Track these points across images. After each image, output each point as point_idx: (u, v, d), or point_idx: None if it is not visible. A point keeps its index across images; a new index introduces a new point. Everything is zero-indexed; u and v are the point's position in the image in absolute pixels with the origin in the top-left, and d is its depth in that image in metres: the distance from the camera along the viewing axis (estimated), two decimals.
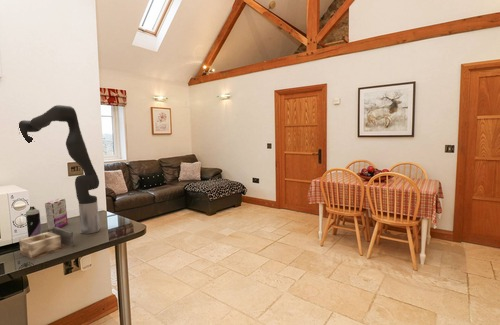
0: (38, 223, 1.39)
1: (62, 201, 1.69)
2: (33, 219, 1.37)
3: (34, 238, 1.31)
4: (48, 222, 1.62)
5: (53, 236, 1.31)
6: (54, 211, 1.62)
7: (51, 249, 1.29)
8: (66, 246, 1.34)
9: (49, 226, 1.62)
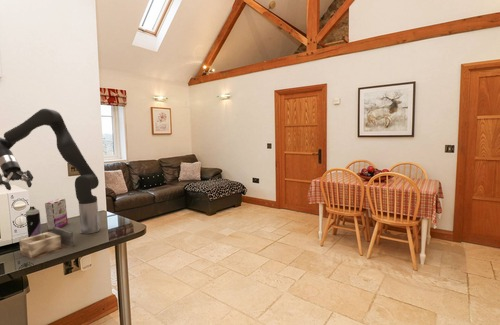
0: (38, 223, 1.39)
1: (62, 201, 1.69)
2: (33, 219, 1.37)
3: (34, 238, 1.31)
4: (48, 222, 1.62)
5: (53, 236, 1.31)
6: (54, 211, 1.62)
7: (51, 249, 1.29)
8: (66, 246, 1.34)
9: (49, 226, 1.62)
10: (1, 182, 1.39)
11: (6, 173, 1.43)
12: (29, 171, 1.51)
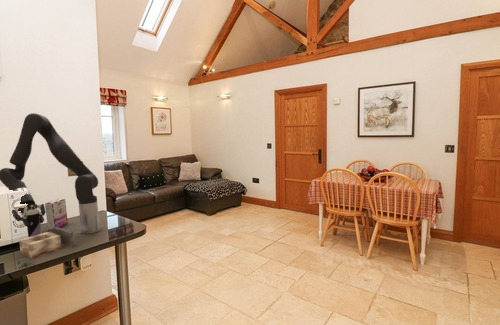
0: (38, 223, 1.39)
1: (62, 201, 1.69)
2: (33, 219, 1.37)
3: (34, 238, 1.31)
4: (48, 222, 1.62)
5: (53, 236, 1.31)
6: (54, 211, 1.62)
7: (51, 249, 1.29)
8: (66, 246, 1.34)
9: (49, 226, 1.62)
10: (19, 218, 1.35)
11: (20, 208, 1.38)
12: (43, 205, 1.46)
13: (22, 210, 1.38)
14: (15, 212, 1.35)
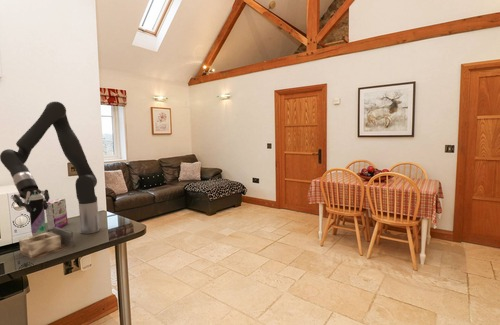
0: (42, 209, 1.28)
1: (62, 201, 1.69)
2: (37, 205, 1.26)
3: (34, 238, 1.31)
4: (48, 222, 1.62)
5: (53, 236, 1.31)
6: (54, 211, 1.62)
7: (51, 249, 1.29)
8: (66, 246, 1.34)
9: (49, 226, 1.62)
10: (21, 204, 1.24)
11: (22, 193, 1.27)
12: (47, 191, 1.35)
13: (24, 195, 1.27)
14: (17, 197, 1.24)
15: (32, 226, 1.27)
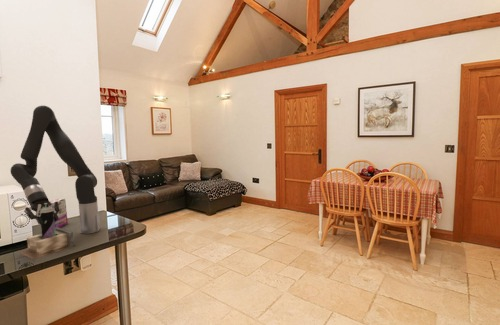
0: (52, 221, 1.32)
1: (62, 201, 1.69)
2: (48, 217, 1.30)
3: (41, 236, 1.33)
4: None
5: (60, 234, 1.34)
6: None
7: (58, 247, 1.31)
8: (66, 246, 1.34)
9: None
10: (33, 217, 1.28)
11: (33, 205, 1.31)
12: (57, 203, 1.39)
13: (36, 208, 1.31)
14: (29, 210, 1.28)
15: (43, 238, 1.31)
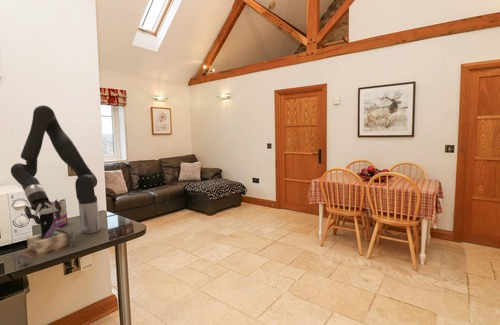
0: (52, 223, 1.32)
1: (62, 201, 1.68)
2: (47, 218, 1.30)
3: (41, 236, 1.33)
4: None
5: (60, 234, 1.34)
6: None
7: (58, 247, 1.31)
8: (66, 246, 1.34)
9: None
10: (30, 216, 1.27)
11: (34, 205, 1.31)
12: (57, 201, 1.40)
13: (35, 208, 1.31)
14: (28, 209, 1.28)
15: None
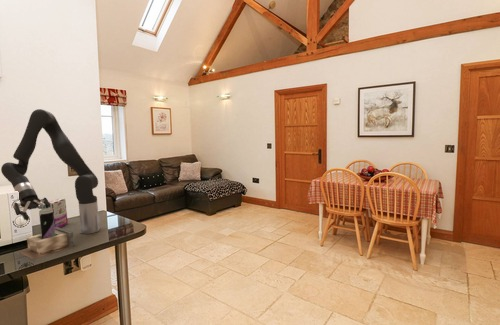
0: (52, 223, 1.32)
1: (62, 201, 1.69)
2: (47, 218, 1.30)
3: (41, 236, 1.33)
4: None
5: (60, 234, 1.34)
6: (54, 211, 1.62)
7: (58, 247, 1.31)
8: (66, 246, 1.34)
9: None
10: (18, 212, 1.33)
11: (23, 202, 1.38)
12: (46, 198, 1.46)
13: (24, 205, 1.37)
14: (17, 205, 1.35)
15: None
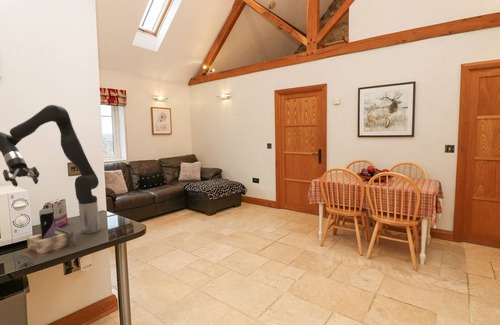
0: (52, 223, 1.32)
1: (62, 201, 1.69)
2: (47, 218, 1.30)
3: (41, 236, 1.33)
4: None
5: (60, 234, 1.34)
6: (54, 211, 1.62)
7: (58, 247, 1.31)
8: (66, 246, 1.34)
9: None
10: (7, 178, 1.37)
11: (12, 169, 1.42)
12: (35, 167, 1.50)
13: (13, 172, 1.41)
14: (6, 172, 1.39)
15: None
